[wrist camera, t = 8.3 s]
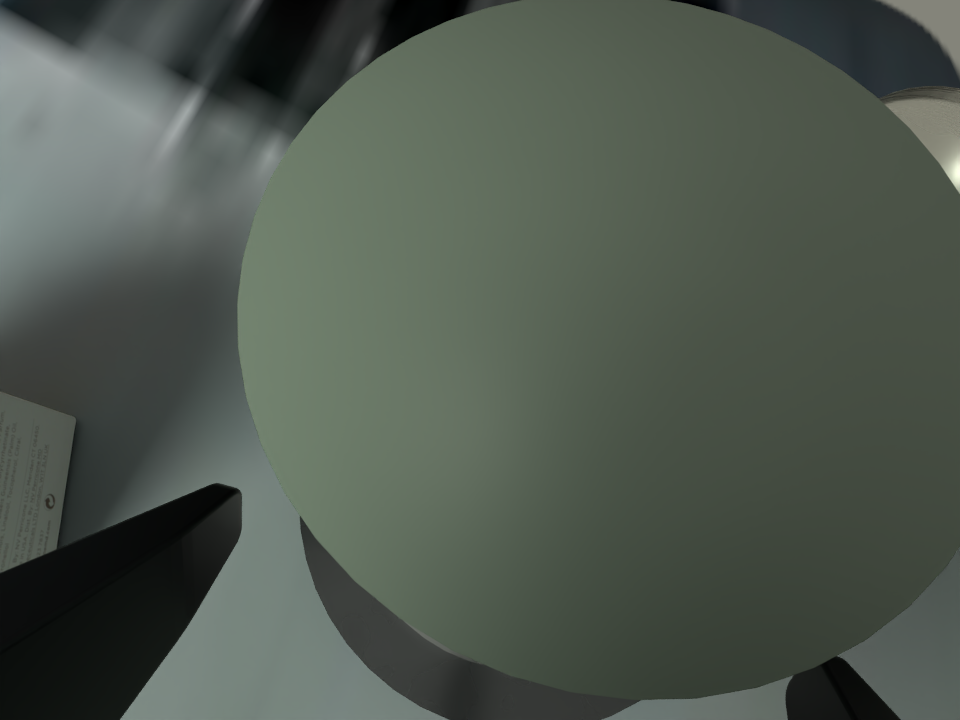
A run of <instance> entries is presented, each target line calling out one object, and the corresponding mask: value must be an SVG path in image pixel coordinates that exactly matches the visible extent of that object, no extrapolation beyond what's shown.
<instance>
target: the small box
mask: <svg viewBox="0 0 960 720" xmlns="http://www.w3.org/2000/svg"><path fill="white" fill-rule="evenodd" d="M75 424H76V419H75V417H73V416H71V415H68V414H65V413H62V412H59V411H56V410H53V409H50V408H47V407H45V406H42V405H39V404H36V403H33V402H30V401H27V400H24V399H21V398H18V397H15V396H12V395H9V394H7V393H4V392H1V391H0V573H1V572H3V571H6V570H8V569H10V568H13V567H15V566H18V565H20V564H22V563H25V562H27V561H29V560H32V559H34V558H37V557H39V556H41V555H44V554H46V553H49V552H51V551H53V550H56V549H57V543H58V536H59V530H60V524H61V516H62V509H63V502H64V496H65V489H66V483H67V476H68V470H69V463H70V456H71V450H72V443H73V436H74V430H75Z"/></svg>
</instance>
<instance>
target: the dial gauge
mask: <svg viewBox="0 0 960 720" xmlns="http://www.w3.org/2000/svg"><path fill="white" fill-rule="evenodd" d="M879 100H880V101H881V102H883V103H884V104H885V105H886V106H887V107H888V108H889V109H890V110H891V111H892V112H893V113H894V114H895V115H896V116H897V117H898V118H899V119H900V120H902V121H903V122H904V123H905V124H906V125H907V126H908V127H909V128H910V129H911V130H912V132H913V133H914V134H915V135H916V136H917V137H918V139H919V140H920V141H921V142H922V143H923V145H924V146H925V147H926V148H927V149H928V150H929V152H930V153H931V154H932V155H933V156H934V158H935V159H936V160H937V161H938V162H939V164H940V165H941V167H942V168H943V170H944V171H945V173H946V174H947V176H948V177H949V179H950V180H951V182H952V183H953V185H954V186H955V188H956V189H957V191H958V192H959V194H960V89H958V88H951V87H943V86H924V87H916V88H909V89H905V90H901V91H897V92H894V93H891V94H889V95H886V96H884V97H882V98H879Z"/></svg>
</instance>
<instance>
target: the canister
mask: <svg viewBox="0 0 960 720" xmlns="http://www.w3.org/2000/svg"><path fill="white" fill-rule="evenodd" d="M237 315H238V351H239V357H240V363H241V370H242V376H243V382H244V388H245V394H246V398H247V402H248V405H249V408H250V411H251V414H252V417H253V420H254V423H255V427H256V430H257V433H258V436H259V439H260V442H261V445H262V447H263V449H264V451H265V453H266V456H267V458H268V460H269V462H270V464H271V466H272V468H273V470H274V472H275V474H276V476H277V478H278V480H279V482H280V484H281V486H282V488H283V490H284V492H285V494H286V495H287V497H288V498H289V500H290V501H291V503H292V504H293V506H294V507H295V509H296V510H297V512H298V513H299V515H300V516H301V518H302V519H303V520H304V522H305V523H306V525H307V526H308V528H309V529H310V531H311V532H312V534H313V535H314V537H315V538H316V539H317V540H318V541H319V543H320V544H321V545H322V546H323V547H324V548H325V549H326V550H327V551H328V552H329V554H330V555H331V556H332V557H333V558H334V559H335V560H336V561H337V562H338V563H339V564H340V566H341V567H342V568H343V569H344V570H345V571H346V572H347V573H348V574H349V575H350V577H351V578H352V579H353V580H354V581H355V582H356V583H358V584H359V585H360V586H361V587H362V588H364V589H365V590H366V591H367V592H369V593H370V594H371V595H372V596H373V597H375V598H376V599H377V600H378V601H379V602H381V603H382V604H383V605H384V606H385V607H387V608H388V609H389V610H390V611H392V612H393V613H394V614H395V615H396V616H398V617H399V618H400V619H402V620H403V621H405V622H406V623H408V624H410V625H411V626H413V627H415V628H416V629H418V630H419V631H421V632H423V633H424V634H426V635H428V636H429V637H431V638H433V639H434V640H436V641H437V642H439V643H441V644H442V645H444V646H446V647H447V648H449V649H451V650H452V651H454V652H457V653H459V654H461V655H464V656H466V657H468V658H470V659H473V660H475V661H477V662H480V663H482V664H484V665H487V666H489V667H491V668H494V669H496V670H498V671H500V672H503V673H505V674H507V675H510V676H513V677H517V678H521V679H524V680H528V681H532V682H535V683H539V684H543V685H546V686H550V687H553V688H557V689H561V690H564V691H568V692H573V693H581V694H589V695H597V696H605V697H614V698H622V699H630V700H652V699H692V698H701V697H707V696H713V695H718V694H724V693H729V692H735V691H741V690H746V689H752V688H757V687H760V686H763V685H766V684H769V683H772V682H775V681H778V680H780V679H783V678H786V677H789V676H792V675H795V674H798V673H801V672H804V671H807V670H809V669H812V668H815V667H817V666H818V665H820V664H822V663H824V662H826V661H828V660H830V659H831V658H833V657H835V656H837V655H839V654H841V653H843V652H845V651H846V650H848V649H850V648H852V647H854V646H856V645H858V644H859V643H861V642H863V641H865V640H866V639H868V638H869V637H870V636H872V635H873V634H874V633H875V632H877V631H878V630H879V629H881V628H882V627H883V626H884V625H886V624H887V623H888V622H890V621H891V620H892V619H894V618H895V617H896V616H897V615H899V614H900V613H901V612H903V611H904V610H905V609H907V608H908V607H909V606H910V605H911V604H912V603H913V602H914V601H915V600H916V599H917V598H918V597H919V595H920V594H921V593H922V592H923V591H924V590H925V589H926V588H927V587H928V586H929V585H930V584H931V583H932V581H933V580H934V579H935V578H936V577H937V576H938V575H939V574H940V573H941V572H942V571H943V570H944V568H945V567H946V566H947V565H948V563H949V562H950V560H951V559H952V557H953V556H954V554H955V553H956V551H957V550H958V548H959V546H960V194H959V192H958V191H957V189H956V188H955V186H954V185H953V183H952V182H951V180H950V179H949V177H948V176H947V174H946V173H945V171H944V170H943V168H942V167H941V165H940V164H939V162H938V161H937V160H936V159H935V158H934V156H933V155H932V154H931V153H930V152H929V150H928V149H927V148H926V147H925V146H924V145H923V143H922V142H921V141H920V140H919V139H918V137H917V136H916V135H915V134H914V133H913V132H912V130H911V129H910V128H909V127H908V126H907V125H906V124H905V123H904V122H903V121H902V120H900V119H899V118H898V117H897V116H896V115H895V114H894V113H893V112H892V111H891V110H890V109H889V108H888V107H887V106H886V105H885V104H884V103H883V102H881V101H880V100H879V99H878V98H877V97H876V96H875V95H873V94H872V93H871V92H869V91H868V90H867V89H865V88H864V87H863V86H861V85H860V84H859V83H858V82H856V81H855V80H854V79H852V78H851V77H850V76H848V75H847V74H846V73H845V72H843V71H842V70H840V69H838V68H837V67H835V66H834V65H832V64H830V63H829V62H827V61H826V60H824V59H822V58H821V57H819V56H817V55H816V54H814V53H813V52H811V51H809V50H808V49H806V48H804V47H802V46H800V45H798V44H796V43H794V42H792V41H790V40H788V39H786V38H784V37H782V36H780V35H777V34H775V33H773V32H771V31H769V30H767V29H764V28H762V27H759V26H756V25H754V24H751V23H748V22H746V21H743V20H740V19H738V18H735V17H732V16H730V15H727V14H723V13H719V12H716V11H712V10H708V9H705V8H701V7H697V6H693V5H690V4H685V3H679V2H673V1H668V0H521V1H517V2H512V3H508V4H503V5H499V6H494V7H490V8H486V9H483V10H480V11H477V12H474V13H471V14H468V15H465V16H462V17H459V18H456V19H453V20H450V21H447V22H445V23H443V24H441V25H438V26H436V27H434V28H432V29H430V30H427V31H425V32H423V33H421V34H419V35H416V36H414V37H412V38H410V39H409V40H407V41H405V42H404V43H402V44H400V45H399V46H397V47H395V48H394V49H392V50H390V51H389V52H387V53H385V54H384V55H382V56H380V57H379V58H377V59H376V60H375V61H373V62H372V63H371V64H369V65H368V66H367V67H365V68H364V69H363V70H362V71H360V72H359V73H358V74H356V75H355V76H354V77H352V78H351V79H350V80H349V81H347V82H346V83H345V84H344V85H343V86H342V87H341V88H340V89H339V90H338V91H337V92H336V93H335V94H334V95H333V96H332V97H331V98H330V99H329V100H328V101H327V102H326V103H325V104H324V105H323V106H322V107H320V108H319V109H318V110H317V112H316V113H315V114H314V115H313V117H312V118H311V119H310V120H309V122H308V123H307V124H306V126H305V127H304V128H303V129H302V131H301V132H300V133H299V134H298V136H297V137H296V138H295V139H294V141H293V142H292V143H291V145H290V147H289V148H288V150H287V152H286V153H285V155H284V157H283V158H282V160H281V162H280V163H279V165H278V167H277V168H276V170H275V172H274V173H273V175H272V177H271V179H270V181H269V183H268V186H267V188H266V190H265V193H264V195H263V197H262V200H261V202H260V204H259V207H258V209H257V211H256V214H255V216H254V219H253V223H252V227H251V230H250V234H249V238H248V241H247V245H246V249H245V252H244V256H243V261H242V269H241V277H240V285H239V293H238V301H237Z"/></svg>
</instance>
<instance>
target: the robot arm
mask: <svg viewBox="0 0 960 720" xmlns="http://www.w3.org/2000/svg"><path fill="white" fill-rule="evenodd" d="M241 528H242V494H241V492H240V490H239V489H237V488H234V487H231V486H227V485H223V484H220V483H215V484H211V485H209V486H206V487H204V488H201V489H199V490H197V491H194V492H192V493H189V494H187V495H185V496H182V497H180V498H177V499H175V500H173V501H170V502H168V503H166V504H163V505H161V506H158V507H156V508H154V509H151V510H149V511H146V512H144V513H142V514H139V515H137V516H135V517H132V518H130V519H127V520H125V521H123V522H120V523H118V524H115V525H113V526H111V527H108V528H106V529H103V530H101V531H99V532H96V533H94V534H92V535H89V536H87V537H84V538H82V539H80V540H77V541H75V542H72V543H70V544H68V545H65V546H63V547H61V548H58V549H56V550H53V551H51V552H49V553H46V554H44V555H41V556H39V557H37V558H34V559H32V560H29V561H27V562H25V563H22V564H20V565H18V566H15V567H13V568H10V569H8V570H6V571H3V572H1V573H0V720H120V719H121V717H122V716H123V715H124V713H125V712H126V711H127V709H128V708H129V707H130V705H131V704H132V702H133V701H134V700H135V698H136V697H137V696H138V694H139V693H140V691H141V690H142V689H143V687H144V686H145V685H146V683H147V682H148V681H149V679H150V678H151V676H152V675H153V674H154V672H155V671H156V670H157V668H158V667H159V665H160V664H161V663H162V661H163V660H164V659H165V657H166V656H167V655H168V653H169V652H170V650H171V649H172V648H173V646H174V645H175V644H176V642H177V641H178V639H179V638H180V637H181V635H182V634H183V632H184V631H185V629H186V628H187V626H188V625H189V623H190V621H191V620H192V618H193V617H194V615H195V613H196V612H197V610H198V608H199V607H200V605H201V603H202V601H203V600H204V598H205V596H206V595H207V593H208V591H209V590H210V588H211V586H212V584H213V583H214V581H215V579H216V578H217V576H218V574H219V572H220V571H221V569H222V567H223V566H224V564H225V562H226V561H227V559H228V557H229V555H230V554H231V552H232V550H233V549H234V547H235V545H236V543H237V542H238V539H239V537H240V534H241ZM786 708H787V716H788V720H901V719H900V718H899V717H898V716H897V715H896V714H895V713H894V712H893V711H892V710H891V709H890V708H889V707H888V705H887V704H886V703H885V702H884V701H883V700H882V699H881V698H880V697H879V696H878V695H877V694H876V693H875V692H874V691H873V689H872V688H871V687H870V686H869V685H868V684H867V683H866V682H865V681H864V680H863V679H862V678H861V677H860V676H859V674H858V673H857V672H856V671H855V670H854V669H853V668H852V667H851V666H850V665H849V664H848V663H847V662H846V661H845V660H844V659H842V658H840V657H838V656H835V657H833V658H831V659H830V660H828V661H826V662H824V663H822V664H820V665H818V666H817V667H815V668H812V669H809V670H807V671H804V672H801V673H798V674H795V675H794V676H793V677H792V679H791V680H790V682H789V684H788V687H787V690H786Z"/></svg>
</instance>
